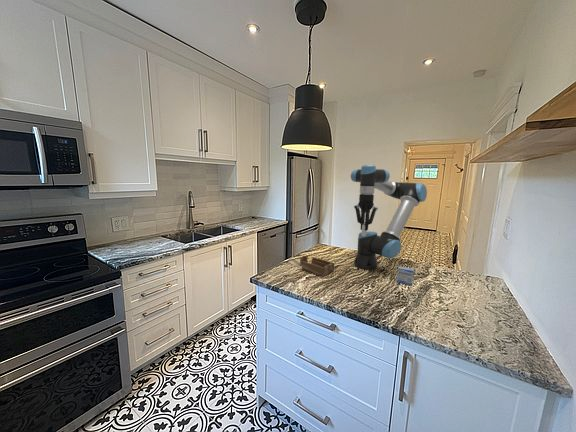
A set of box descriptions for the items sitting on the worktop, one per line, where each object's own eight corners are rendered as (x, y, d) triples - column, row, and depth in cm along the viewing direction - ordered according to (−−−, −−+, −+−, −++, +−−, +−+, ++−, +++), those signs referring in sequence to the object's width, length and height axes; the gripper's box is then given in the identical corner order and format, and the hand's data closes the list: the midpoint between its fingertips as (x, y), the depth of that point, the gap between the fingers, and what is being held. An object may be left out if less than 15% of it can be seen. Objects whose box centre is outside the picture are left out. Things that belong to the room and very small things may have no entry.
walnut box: (313, 265, 164) (313, 257, 163) (333, 271, 154) (334, 263, 153) (302, 270, 155) (302, 261, 154) (323, 277, 145) (323, 268, 144)
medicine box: (396, 282, 139) (398, 268, 138) (397, 279, 143) (398, 265, 142) (412, 285, 136) (413, 270, 134) (412, 282, 140) (413, 268, 138)
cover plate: (296, 260, 174) (296, 250, 173) (309, 265, 164) (310, 255, 163) (287, 263, 168) (287, 253, 167) (300, 268, 158) (300, 258, 157)
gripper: (352, 193, 135) (350, 235, 139) (375, 195, 126) (372, 239, 130) (358, 192, 141) (356, 232, 144) (381, 194, 132) (377, 236, 136)
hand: (363, 235), depth 137 cm, fingers closed
